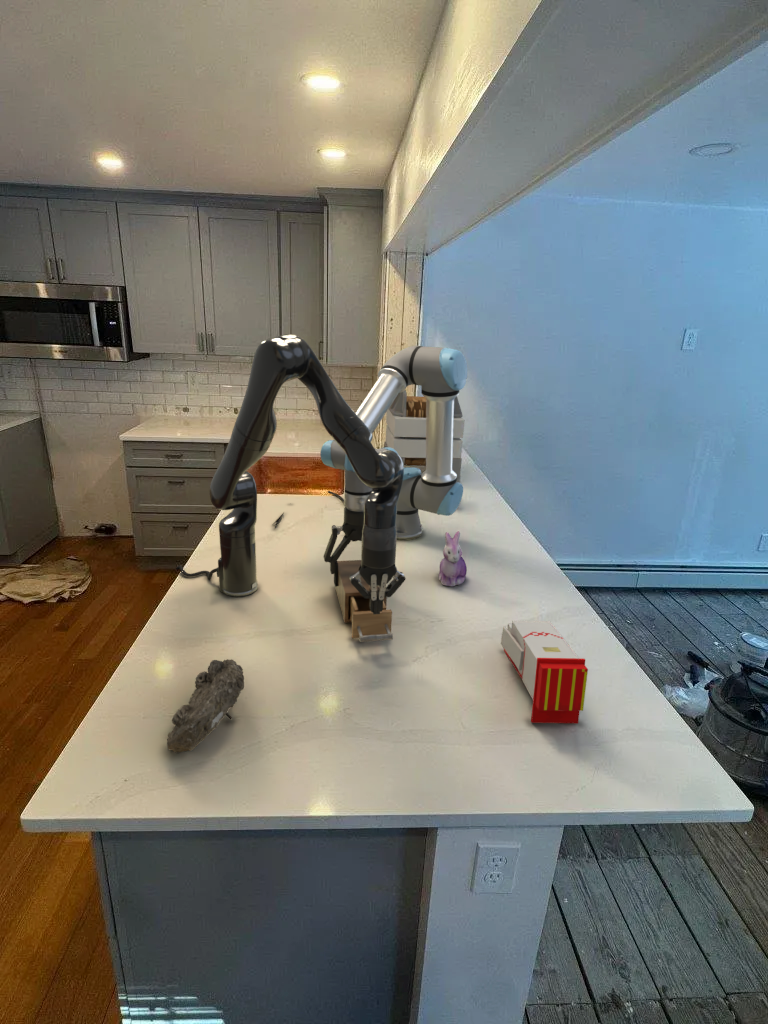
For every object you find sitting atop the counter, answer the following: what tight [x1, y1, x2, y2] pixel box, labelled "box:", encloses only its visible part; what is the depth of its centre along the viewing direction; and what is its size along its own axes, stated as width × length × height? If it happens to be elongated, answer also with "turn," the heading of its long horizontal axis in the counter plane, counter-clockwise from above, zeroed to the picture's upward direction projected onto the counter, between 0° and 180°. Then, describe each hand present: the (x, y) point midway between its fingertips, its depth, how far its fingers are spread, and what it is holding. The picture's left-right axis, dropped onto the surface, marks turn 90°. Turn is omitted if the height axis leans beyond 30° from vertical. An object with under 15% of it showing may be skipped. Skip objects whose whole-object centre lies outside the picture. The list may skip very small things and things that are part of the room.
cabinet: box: [334, 559, 388, 624], centre depth 151 cm, size 19×11×8 cm, turn 12°
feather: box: [273, 503, 291, 529], centre depth 211 cm, size 2×28×2 cm
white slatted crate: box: [383, 389, 465, 483], centre depth 268 cm, size 34×33×41 cm
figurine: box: [438, 530, 468, 587], centre depth 165 cm, size 9×10×15 cm
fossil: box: [166, 658, 245, 754], centre depth 106 cm, size 22×10×15 cm
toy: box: [500, 620, 589, 724], centre depth 121 cm, size 12×13×30 cm
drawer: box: [348, 595, 394, 643], centre depth 139 cm, size 23×9×6 cm, turn 12°
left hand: (375, 612), depth 129 cm, fingers closed
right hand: (356, 582), depth 156 cm, fingers closed on cabinet, 11 cm apart
